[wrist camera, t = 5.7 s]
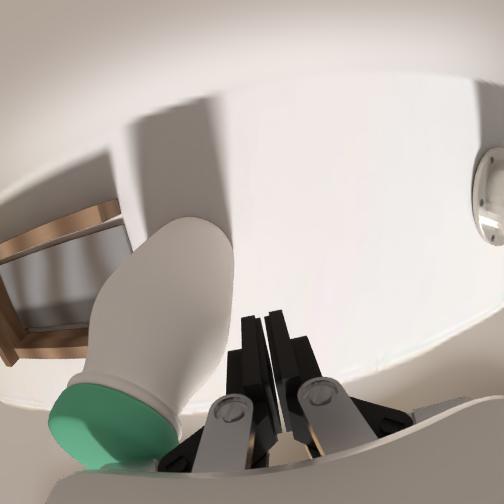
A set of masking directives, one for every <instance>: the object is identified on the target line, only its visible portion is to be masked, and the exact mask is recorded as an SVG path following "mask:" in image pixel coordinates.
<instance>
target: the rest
mask: <svg viewBox="0 0 504 504" xmlns="http://www.w3.org/2000/svg"><path fill="white" fill-rule="evenodd" d="M120 214H121V211H120V207H119V203H118V199H117V198H116V199H113V200H110V201H107V202H104V203H101V204H98V205H95V206H92V207H89V208H86V209H84V210H81V211H78V212H75V213H73V214H70V215H67V216H65V217H62V218H60V219H57V220H54V221H52V222H49V223H47V224H44V225H42V226H40V227H37V228H35V229H32V230H30V231H28V232H25V233H23V234H21V235H19V236H16V237H14V238H12V239H10V240H8V241H5V242H3V243H1V244H0V259H2V258H5V257H7V256H10V255H12V254H15V253H17V252H20V251H23V250H25V249H28V248H30V247H33V246H36V245H39V244H41V243H44V242H47V241H50V240H52V239H55V238H58V237H61V236H64V235H67V234H70V233H73V232H76V231H79V230H82V229H85V228H88V227H91V226H94V225H97V224H101V223H103V222H105V221H107V220H109V219H111V218H113V217H115V216H117V215H120ZM132 253H133V252H132V249H131V245H130V242H129V239H128V236H127V232H126V229H125V225H124V224H123V225H119V226H116V227H112V228H109V229H105V230H102V231H99V232H95V233H92V234H89V235H86V236H82V237H79V238H76V239H73V240H70V241H67V242H64V243H61V244H58V245H55V246H52V247H49V248H46V249H43V250H40V251H37V252H34V253H31V254H29V255H26V256H23V257H20V258H18V259H15V260H12V261H10V262H7V263H4V264H2V265H0V356H1V358H2V360H3V361H4V363H5V365H6V366H8V367H12V366H13V365H14V364H15V363H16V362H17V360H18V359H19V358H28V359H76V358H86V357H87V351H88V338H89V327H88V328H79V329H70V330H59V331H48V332H36V333H29V332H28V330H27V328H36V327H46V326H55V325H64V324H73V323H81V322H89V321H90V317H91V313H92V309H93V305H94V303H95V300H96V298H97V296H98V294H99V292H100V290H101V288H102V287H103V285H104V284H105V282H106V281H107V279H108V278H109V277H110V276H111V275H112V273H113V272H114V271H115V270H116V269H117V268H118V267H119V266H120V265H121V264H122V263H123V262H124V261H125V260H126V259H127V258H128V257H129V256H130V255H131V254H132Z"/></svg>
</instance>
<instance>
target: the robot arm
mask: <svg viewBox="0 0 504 504" xmlns="http://www.w3.org/2000/svg"><path fill="white" fill-rule="evenodd" d="M473 212H474V218H475V223H476V226H477V229H478V231H479V233H480V235H481V237H482V238H483V239H484V240H485V241H486V242H488V243H489V244H492V245H494V246H502V245H504V148H502V147H495V148H492V149H490V150H489V151H487V152H486V153H485V155H484V156H483V157H482V159H481V161H480V163H479V165H478V168H477V172H476V175H475V180H474V186H473ZM264 319H265V325H266V331H267V337H268V343H269V349H270V355H271V361H272V367H273V372H272V367H271V363H270V358H269V354H268V350H267V345H266V341H265V337H264V332H263V328H262V323H261V319H260V318H255V316H254V315H253V316H248V317H242V318H241V332H242V349H238V350H232V351H228V356H227V382H226V395H225V396H222V397H220V398H219V399H217V400H216V401H215V402H214V403H213V404H212V405H211V407H210V409H209V413H208V416H207V420H206V423H205V426H203V427H202V428H201V429H199V430H198V431H197V432H195V433H194V434H193V435H191V436H190V437H189V438H188V439H186V440H185V441H184V442H182V443H181V444H179V445H178V446H177V447H175V448H174V449H173V450H171V451H170V452H168V453H167V454H166V455H165V456H163V457H162V458H161V460H156V459H155V458H151V459H144V460H136V461H127V462H117V463H109V464H105V465H104V466H102V467H101V468H100V469H90V470H83V471H77V472H73V473H70V474H67V475H65V476H63V477H62V478H60V479H59V480H58V481H57V483H56V484H55V485H54V487H53V489H52V490H51V492H50V494H49V496H48V498H47V501H46V503H45V504H504V396H503V395H496V396H489V397H484V398H479V399H475V400H473V399H471V398H468V397H458V398H455V399H452V400H448V401H445V402H441V403H438V404H434V405H430V406H426V407H422V408H418V409H414V410H413V412H412V413H408V414H406V413H405V412H402V411H400V410H396V409H392V408H388V407H384V406H380V405H377V404H373V403H370V402H366V401H363V400H359V399H356V398H353V397H350V396H348V394H347V393H346V391H345V390H344V388H343V387H342V385H341V384H340V383H339V382H338V381H337V380H335V379H332V378H329V377H322V375H321V372H320V369H319V366H318V364H317V361H316V358H315V356H314V353H313V350H312V348H311V345H310V342H309V340H308V337H307V336H302V337H298V338H294V339H290V337H289V334H288V330H287V327H286V323H285V320H284V316H283V313H282V310H277V311H272V312H269V316H265V317H264ZM273 373H274V378H275V383H276V388H277V392H278V397H279V401H280V405H281V409H282V414H283V418H284V422H285V426H286V431H287V432H290V431H293V436H294V439H295V440H297V441H299V442H301V443H304V444H305V447H306V450H307V452H308V454H309V456H310V459H309V460H305V461H300V462H295V463H290V464H285V465H278V466H272V467H269V457H270V453H269V449H270V448H271V447H272V446H273V445H274V444H275V443H276V442H277V441H278V438H277V434H279V433H282V428H281V422H280V416H279V410H278V403H277V397H276V391H275V385H274V378H273Z"/></svg>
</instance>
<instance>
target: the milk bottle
mask: <svg viewBox="0 0 504 504" xmlns="http://www.w3.org/2000/svg"><path fill="white" fill-rule="evenodd" d="M233 279H234V253H233V249H232V246H231V244H230V241H229V240H228V238H227V236H226V235H225V234H224V233H223V231H222V230H221V229H219V228H218V227H217V226H216V225H214V224H213V223H211V222H209V221H207V220H204V219H201V218H196V217H183V218H178V219H175V220H173V221H171V222H169V223H167V224H166V225H164V226H163V227H162V228H160V229H159V230H158V231H157V232H155V233H154V234H153V235H152V236H151V237H150V238H149V239H147V240H146V241H145V242H144V243H143V244H142V245H141V246H140V247H138V248H137V249H136V250H135V251H134V252H133V253H132V254H131V255H130V256H129V257H128V258H127V259H126V260H125V261H124V262H123V263H122V264H121V265H120V266H119V267H118V268H117V269H116V270H115V271H114V272H113V273H112V275H111V276H110V277H109V278H108V279H107V281H106V282H105V284H104V285H103V287H102V288H101V290H100V292H99V294H98V296H97V298H96V300H95V303H94V305H93V309H92V313H91V317H90V324H89V338H88V351H87V357H86V361H85V365H84V369H83V372H81V373H78V374H76V375H74V376H73V377H72V378H71V379H70V380H69V382H68V384H67V388H66V389H65V390H64V391H63V392H62V393H61V395H60V396H59V398H58V399H57V401H56V402H55V404H54V406H53V408H52V410H51V412H50V414H49V420H48V426H49V429H50V431H51V433H52V435H53V437H54V438H55V440H56V441H57V443H58V444H59V445H60V446H61V447H62V448H63V449H64V450H65V451H66V452H67V453H68V454H69V455H70V456H72V457H73V458H74V459H75V460H77V461H78V462H80V463H81V464H83V465H84V466H86V467H88V468H89V469H100V468H101V467H102V466H104V465H105V464H109V463H117V462H127V461H136V460H144V459H151V458H155V459H156V460H161V458H162V457H163V456H165V455H166V454H167V453H168V452H170V451H171V450H173V449H174V448H175V447H177V446H178V445H179V440H180V438H181V436H182V426H181V423H180V420H179V416H180V414H181V412H182V410H183V408H184V407H185V405H186V404H187V402H188V401H189V400H190V398H191V397H192V396H193V395H194V394H195V393H196V392H197V391H198V390H199V389H200V388H201V387H202V386H203V385H204V384H205V383H206V382H207V381H208V379H209V378H210V377H211V376H212V374H213V373H214V371H215V370H216V368H217V367H218V365H219V363H220V361H221V358H222V356H223V354H224V351H225V347H226V344H227V340H228V335H229V327H230V320H231V308H232V294H233Z"/></svg>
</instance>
